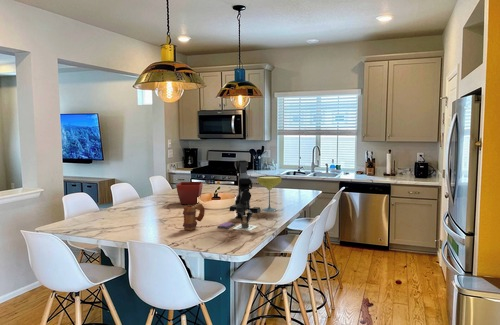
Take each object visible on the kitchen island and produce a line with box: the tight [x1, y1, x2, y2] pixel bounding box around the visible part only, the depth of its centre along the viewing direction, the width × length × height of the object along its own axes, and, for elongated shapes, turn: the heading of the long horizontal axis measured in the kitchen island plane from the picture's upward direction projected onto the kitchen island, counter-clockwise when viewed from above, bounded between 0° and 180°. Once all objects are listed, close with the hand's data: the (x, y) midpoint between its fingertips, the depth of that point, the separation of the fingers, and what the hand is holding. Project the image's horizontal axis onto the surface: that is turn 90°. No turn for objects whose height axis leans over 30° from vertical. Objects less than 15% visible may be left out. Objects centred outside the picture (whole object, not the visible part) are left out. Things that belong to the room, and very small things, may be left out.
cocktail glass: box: [256, 175, 282, 212], centre depth 276 cm, size 18×18×25 cm
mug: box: [182, 202, 206, 231], centre depth 224 cm, size 15×8×15 cm, turn 126°
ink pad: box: [217, 222, 236, 230], centre depth 229 cm, size 10×7×1 cm
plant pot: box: [175, 181, 204, 205], centre depth 306 cm, size 19×19×17 cm
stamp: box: [241, 214, 250, 228], centre depth 225 cm, size 4×4×7 cm
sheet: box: [231, 223, 259, 232], centre depth 226 cm, size 12×12×1 cm
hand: (245, 223), depth 225 cm, fingers closed on stamp, 3 cm apart
